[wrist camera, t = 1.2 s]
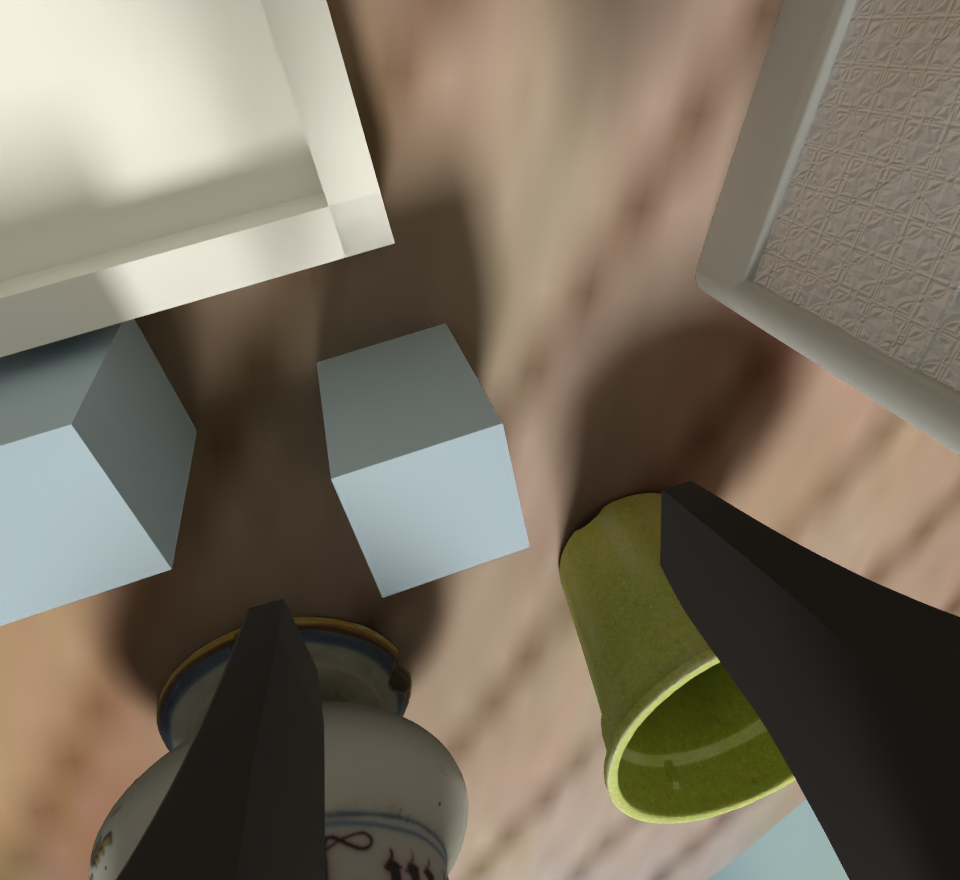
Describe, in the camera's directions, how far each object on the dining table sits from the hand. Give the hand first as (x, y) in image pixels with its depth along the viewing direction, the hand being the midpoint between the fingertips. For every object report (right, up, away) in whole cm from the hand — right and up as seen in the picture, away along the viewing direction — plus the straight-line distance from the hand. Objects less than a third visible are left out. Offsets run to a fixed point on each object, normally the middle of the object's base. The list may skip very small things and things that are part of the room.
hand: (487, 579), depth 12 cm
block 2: (-3, +4, +8) cm, 10 cm away
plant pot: (+6, -2, +15) cm, 16 cm away
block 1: (-11, +4, +6) cm, 13 cm away
